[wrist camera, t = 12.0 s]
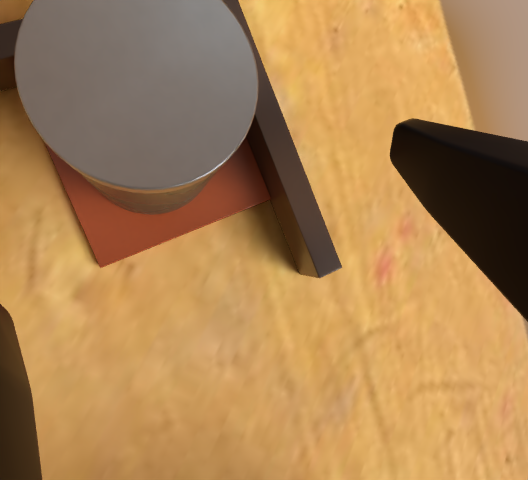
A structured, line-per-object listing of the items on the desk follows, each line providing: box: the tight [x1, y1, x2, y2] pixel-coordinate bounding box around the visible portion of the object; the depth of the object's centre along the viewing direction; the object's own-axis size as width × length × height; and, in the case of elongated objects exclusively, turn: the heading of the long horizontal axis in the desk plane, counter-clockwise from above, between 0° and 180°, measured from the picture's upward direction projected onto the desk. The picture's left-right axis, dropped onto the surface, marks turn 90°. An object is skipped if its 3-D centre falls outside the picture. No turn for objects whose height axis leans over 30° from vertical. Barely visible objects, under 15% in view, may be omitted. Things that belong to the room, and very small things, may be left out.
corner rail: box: [0, 0, 342, 278], centre depth 17 cm, size 14×11×2 cm
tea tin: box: [14, 0, 258, 215], centre depth 14 cm, size 6×6×8 cm
